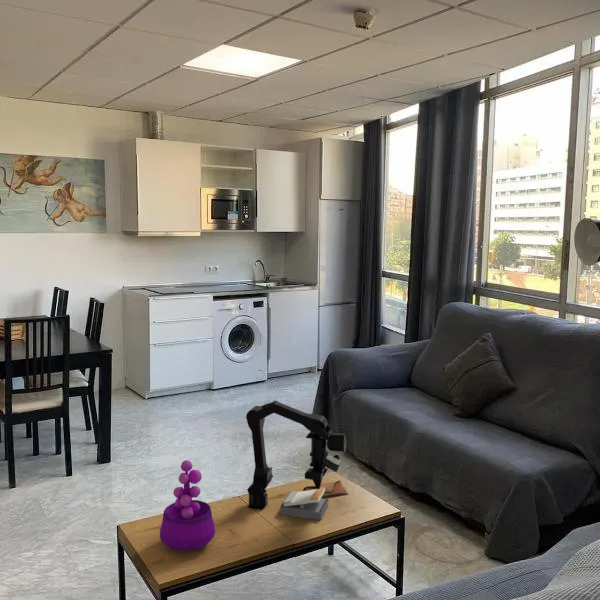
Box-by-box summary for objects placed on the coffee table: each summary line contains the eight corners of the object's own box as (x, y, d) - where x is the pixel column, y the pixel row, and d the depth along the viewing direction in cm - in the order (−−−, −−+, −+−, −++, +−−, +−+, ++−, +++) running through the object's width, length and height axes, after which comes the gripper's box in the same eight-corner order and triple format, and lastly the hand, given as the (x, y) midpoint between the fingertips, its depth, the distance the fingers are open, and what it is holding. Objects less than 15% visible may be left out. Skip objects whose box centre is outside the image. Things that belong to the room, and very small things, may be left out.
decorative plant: (191, 526, 222) (189, 447, 219) (226, 542, 210) (225, 459, 207) (148, 546, 208) (146, 461, 204) (184, 564, 196) (182, 475, 193)
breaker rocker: (284, 506, 231) (283, 502, 231) (292, 495, 241) (291, 491, 241) (318, 501, 227) (317, 497, 227) (325, 490, 237) (324, 486, 237)
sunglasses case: (311, 502, 242) (308, 485, 245) (304, 504, 248) (301, 488, 250) (350, 494, 250) (346, 477, 252) (343, 496, 256) (339, 480, 258)
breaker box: (280, 514, 231) (280, 503, 231) (289, 501, 243) (289, 490, 242) (321, 520, 227) (321, 508, 226) (328, 506, 238) (328, 495, 238)
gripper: (333, 460, 220) (333, 501, 221) (344, 443, 237) (343, 481, 239) (304, 457, 223) (304, 497, 224) (316, 440, 240) (316, 478, 242)
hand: (318, 488), depth 232 cm, fingers closed
